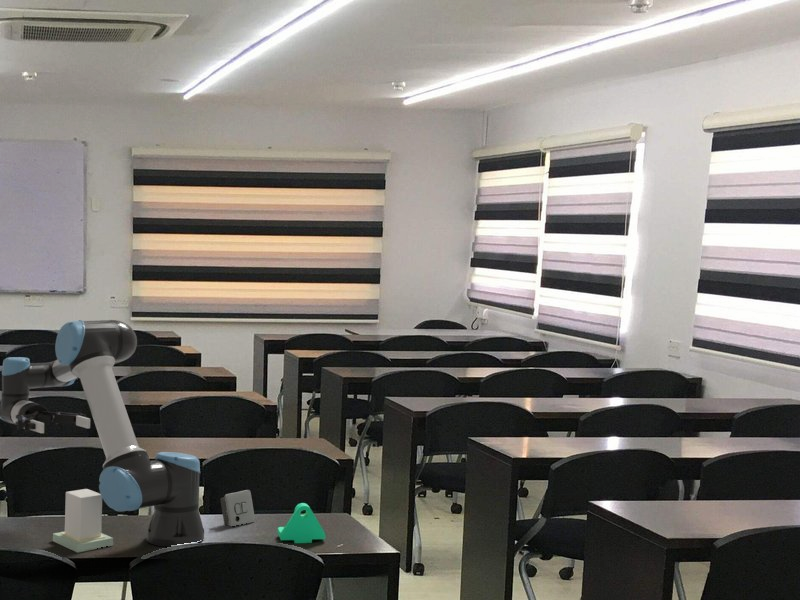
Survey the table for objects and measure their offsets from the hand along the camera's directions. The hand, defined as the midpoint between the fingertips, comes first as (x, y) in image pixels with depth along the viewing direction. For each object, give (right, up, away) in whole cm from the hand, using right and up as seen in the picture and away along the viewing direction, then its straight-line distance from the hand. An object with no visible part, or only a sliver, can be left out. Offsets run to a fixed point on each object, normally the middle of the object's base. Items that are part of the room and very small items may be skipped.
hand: (66, 425), depth 274 cm
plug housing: (+9, -27, -13) cm, 31 cm away
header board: (+9, -29, -13) cm, 33 cm away
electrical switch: (+45, -30, +12) cm, 55 cm away
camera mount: (+65, -31, -1) cm, 72 cm away
